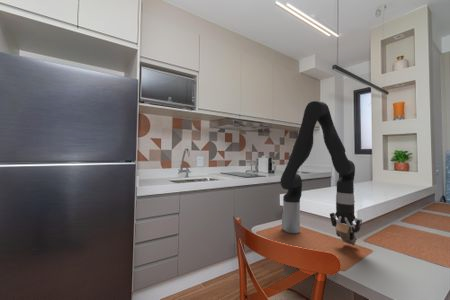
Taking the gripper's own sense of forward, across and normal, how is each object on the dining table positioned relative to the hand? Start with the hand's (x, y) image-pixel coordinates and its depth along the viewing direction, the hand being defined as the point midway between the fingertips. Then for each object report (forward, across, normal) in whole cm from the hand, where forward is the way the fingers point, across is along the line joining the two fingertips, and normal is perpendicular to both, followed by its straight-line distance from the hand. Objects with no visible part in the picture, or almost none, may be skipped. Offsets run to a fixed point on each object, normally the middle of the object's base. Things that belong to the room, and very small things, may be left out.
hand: (345, 237), depth 97 cm
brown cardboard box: (+2, 0, +5) cm, 5 cm away
